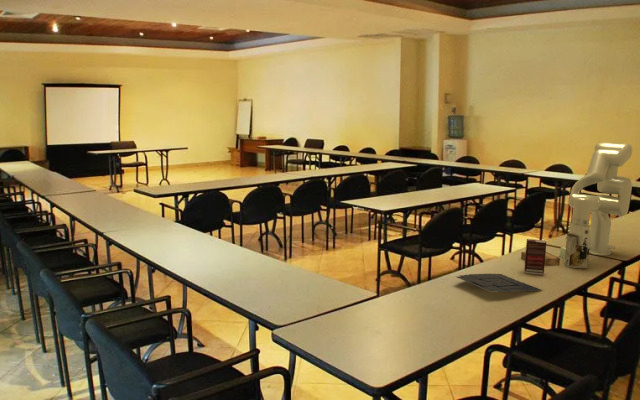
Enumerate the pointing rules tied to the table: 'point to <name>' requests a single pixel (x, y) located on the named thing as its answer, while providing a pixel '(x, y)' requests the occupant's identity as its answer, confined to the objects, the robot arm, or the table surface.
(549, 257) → the walnut block
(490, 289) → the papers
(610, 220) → the robot arm
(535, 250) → the supplement box
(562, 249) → the sage cube
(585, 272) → the table surface
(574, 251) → the coffee box
